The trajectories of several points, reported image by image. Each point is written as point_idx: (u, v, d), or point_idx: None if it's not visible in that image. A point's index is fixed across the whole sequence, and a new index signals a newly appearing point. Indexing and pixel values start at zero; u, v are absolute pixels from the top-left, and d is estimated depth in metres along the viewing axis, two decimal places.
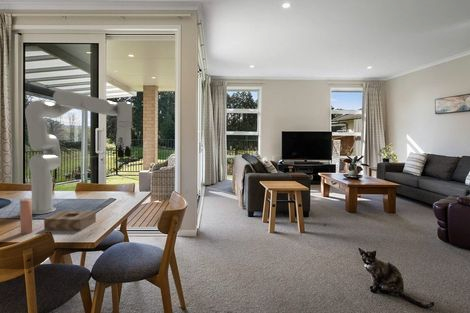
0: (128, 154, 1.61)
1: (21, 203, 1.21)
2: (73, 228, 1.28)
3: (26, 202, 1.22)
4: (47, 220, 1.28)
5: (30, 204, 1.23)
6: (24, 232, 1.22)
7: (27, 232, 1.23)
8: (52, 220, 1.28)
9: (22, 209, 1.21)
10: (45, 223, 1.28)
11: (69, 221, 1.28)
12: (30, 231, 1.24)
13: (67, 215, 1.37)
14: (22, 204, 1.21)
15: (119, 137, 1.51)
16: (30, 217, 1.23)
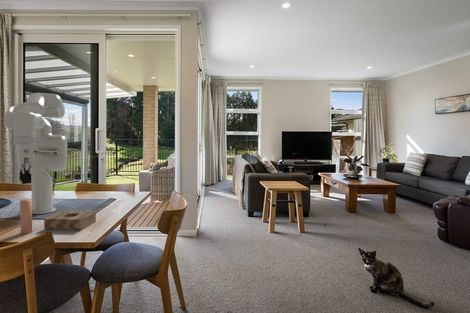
0: None
1: (21, 203, 1.21)
2: (73, 228, 1.28)
3: (26, 202, 1.22)
4: (47, 220, 1.28)
5: (30, 204, 1.23)
6: (24, 232, 1.22)
7: (27, 232, 1.23)
8: (52, 220, 1.28)
9: (22, 209, 1.21)
10: (45, 223, 1.28)
11: (69, 221, 1.28)
12: (30, 231, 1.24)
13: (67, 215, 1.37)
14: (22, 204, 1.21)
15: None
16: (30, 217, 1.23)
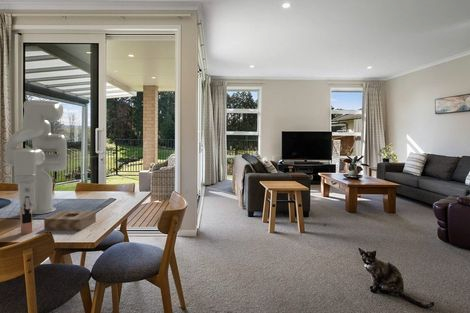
0: None
1: None
2: (73, 228, 1.28)
3: None
4: (47, 220, 1.28)
5: None
6: (24, 232, 1.22)
7: (27, 232, 1.23)
8: (52, 220, 1.28)
9: (22, 209, 1.21)
10: (45, 223, 1.28)
11: (69, 221, 1.28)
12: (30, 231, 1.24)
13: (67, 215, 1.37)
14: None
15: None
16: None
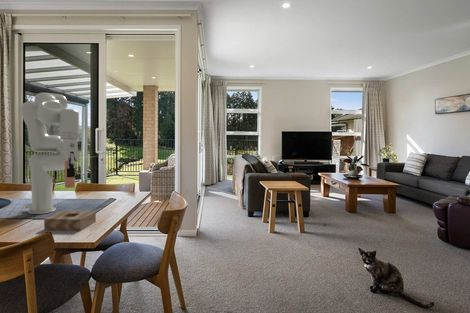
0: None
1: None
2: (73, 228, 1.28)
3: None
4: (47, 220, 1.28)
5: None
6: (68, 186, 1.32)
7: (71, 186, 1.32)
8: (52, 220, 1.28)
9: None
10: (45, 223, 1.28)
11: (69, 221, 1.28)
12: (73, 185, 1.33)
13: (67, 215, 1.37)
14: None
15: None
16: None
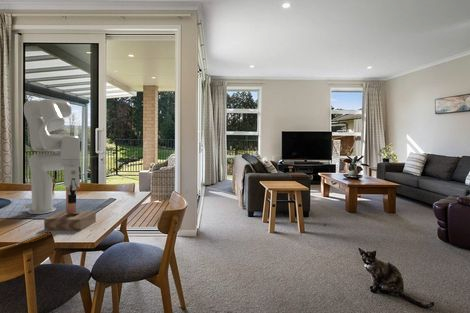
0: None
1: None
2: (73, 228, 1.28)
3: None
4: (47, 220, 1.28)
5: None
6: (69, 212, 1.33)
7: (72, 212, 1.33)
8: (52, 220, 1.28)
9: (68, 190, 1.32)
10: (45, 223, 1.28)
11: (69, 221, 1.28)
12: (74, 211, 1.34)
13: (67, 215, 1.37)
14: None
15: None
16: None
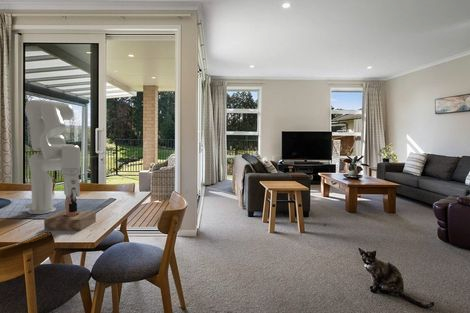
0: None
1: (67, 198, 1.33)
2: (73, 228, 1.28)
3: None
4: (47, 220, 1.28)
5: None
6: None
7: None
8: (52, 220, 1.28)
9: (68, 204, 1.33)
10: (45, 223, 1.28)
11: (69, 221, 1.28)
12: None
13: None
14: (68, 199, 1.32)
15: None
16: None
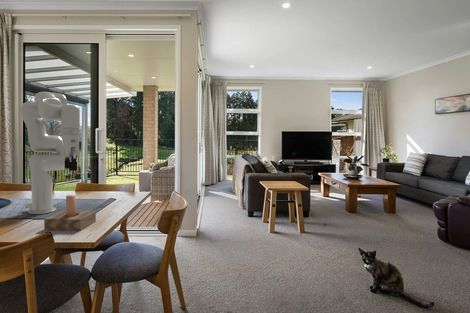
0: None
1: (67, 198, 1.32)
2: (73, 228, 1.28)
3: (72, 197, 1.33)
4: (47, 220, 1.28)
5: (75, 199, 1.34)
6: None
7: None
8: (52, 220, 1.28)
9: (68, 204, 1.33)
10: (45, 223, 1.28)
11: (69, 221, 1.28)
12: None
13: None
14: (68, 199, 1.32)
15: None
16: (75, 211, 1.35)
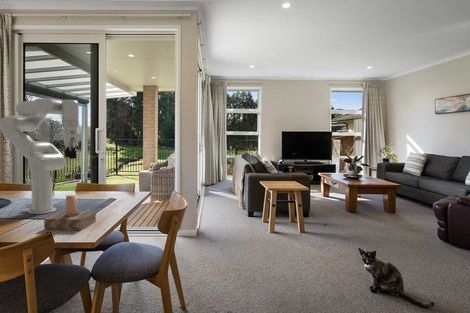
0: None
1: (67, 198, 1.32)
2: (73, 228, 1.28)
3: (72, 197, 1.33)
4: (47, 220, 1.28)
5: (75, 199, 1.34)
6: None
7: None
8: (52, 220, 1.28)
9: (68, 204, 1.33)
10: (45, 223, 1.28)
11: (69, 221, 1.28)
12: None
13: None
14: (68, 199, 1.32)
15: None
16: (75, 211, 1.35)
